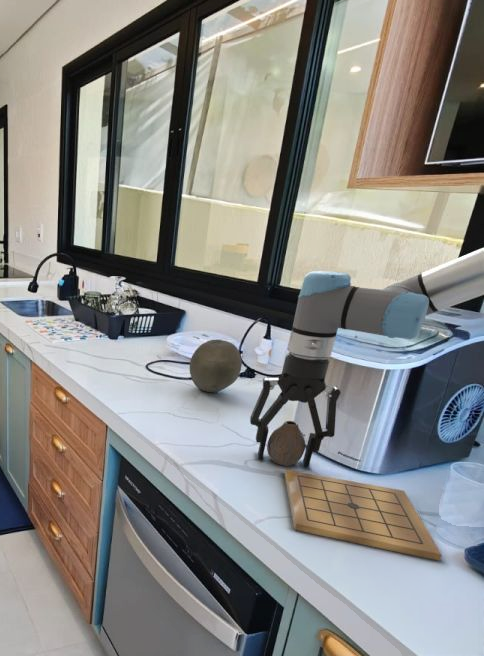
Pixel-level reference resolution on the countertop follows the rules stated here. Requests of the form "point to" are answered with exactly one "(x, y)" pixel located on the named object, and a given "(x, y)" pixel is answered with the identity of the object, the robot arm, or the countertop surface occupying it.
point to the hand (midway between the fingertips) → (282, 460)
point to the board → (358, 514)
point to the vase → (286, 444)
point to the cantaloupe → (215, 365)
